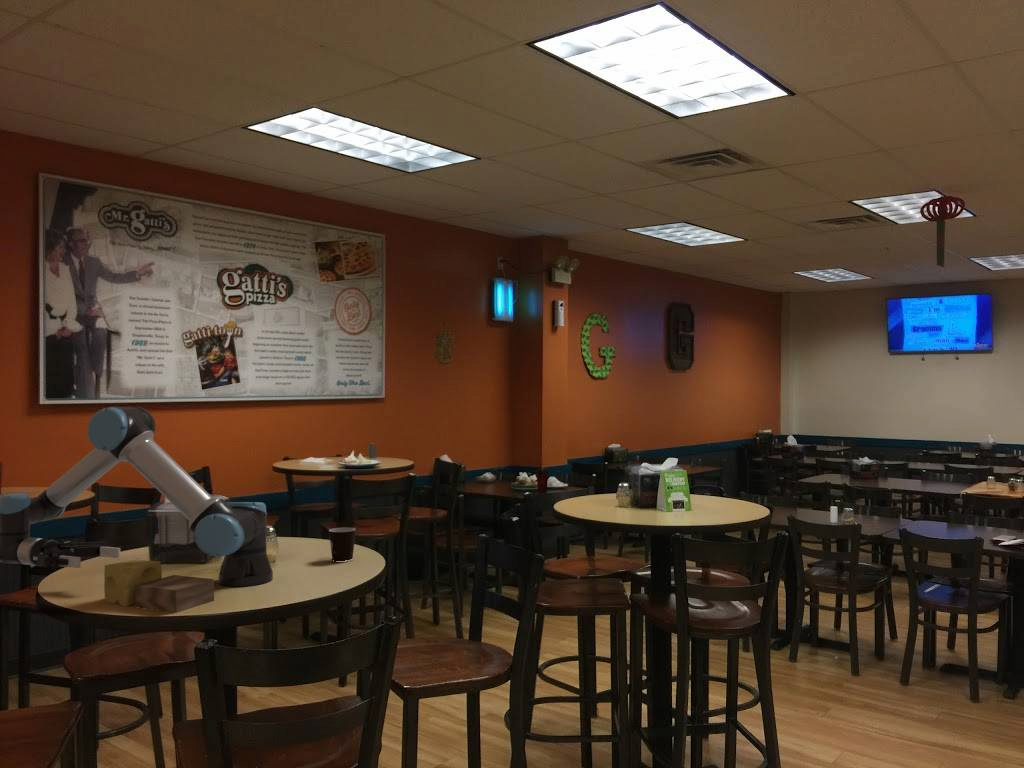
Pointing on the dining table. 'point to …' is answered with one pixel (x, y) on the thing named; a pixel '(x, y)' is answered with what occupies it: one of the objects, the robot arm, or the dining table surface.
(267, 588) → the dining table surface
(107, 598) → the cheese
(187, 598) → the walnut block
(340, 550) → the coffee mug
